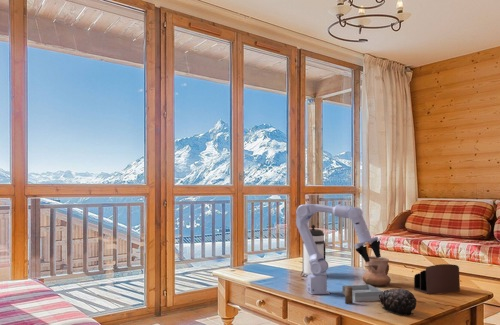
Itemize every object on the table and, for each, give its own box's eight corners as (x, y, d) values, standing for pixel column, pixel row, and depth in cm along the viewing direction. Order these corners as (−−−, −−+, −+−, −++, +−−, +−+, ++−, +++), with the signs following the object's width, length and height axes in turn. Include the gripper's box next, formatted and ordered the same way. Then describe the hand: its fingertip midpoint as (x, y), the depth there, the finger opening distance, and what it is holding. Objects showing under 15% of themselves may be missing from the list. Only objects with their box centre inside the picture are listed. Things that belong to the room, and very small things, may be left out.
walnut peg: (347, 304, 187) (346, 288, 187) (344, 302, 190) (343, 286, 190) (353, 304, 187) (353, 288, 188) (350, 302, 190) (350, 286, 191)
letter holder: (460, 292, 211) (459, 263, 212) (427, 294, 205) (426, 265, 206) (445, 287, 220) (445, 260, 221) (413, 290, 215) (413, 262, 215)
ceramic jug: (375, 289, 215) (375, 261, 216) (355, 283, 228) (355, 256, 229) (399, 286, 224) (399, 259, 225) (378, 280, 237) (378, 254, 238)
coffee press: (330, 279, 238) (329, 225, 240) (301, 278, 239) (301, 225, 241) (325, 273, 256) (325, 223, 258) (299, 272, 256) (298, 223, 258)
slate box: (355, 301, 191) (355, 292, 192) (342, 294, 205) (342, 285, 205) (383, 300, 194) (383, 291, 194) (369, 292, 208) (369, 284, 208)
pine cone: (385, 304, 187) (385, 281, 188) (421, 314, 172) (421, 289, 173) (370, 308, 181) (369, 284, 182) (405, 318, 167) (405, 293, 167)
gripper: (357, 233, 192) (368, 262, 189) (378, 226, 200) (389, 253, 197) (347, 236, 198) (358, 264, 194) (368, 229, 206) (378, 256, 202)
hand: (373, 259), depth 196 cm, fingers open, 7 cm apart
